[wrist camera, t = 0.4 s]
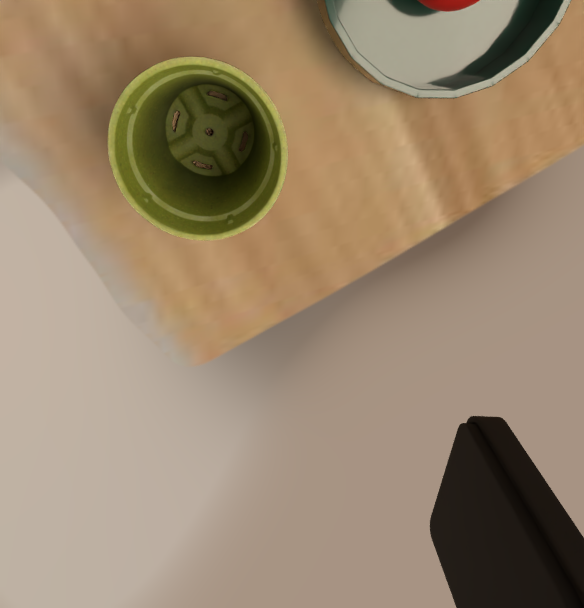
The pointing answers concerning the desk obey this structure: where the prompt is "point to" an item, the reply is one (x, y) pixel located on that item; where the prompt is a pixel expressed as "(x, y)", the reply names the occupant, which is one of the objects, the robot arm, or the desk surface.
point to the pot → (439, 41)
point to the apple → (448, 4)
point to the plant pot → (197, 148)
